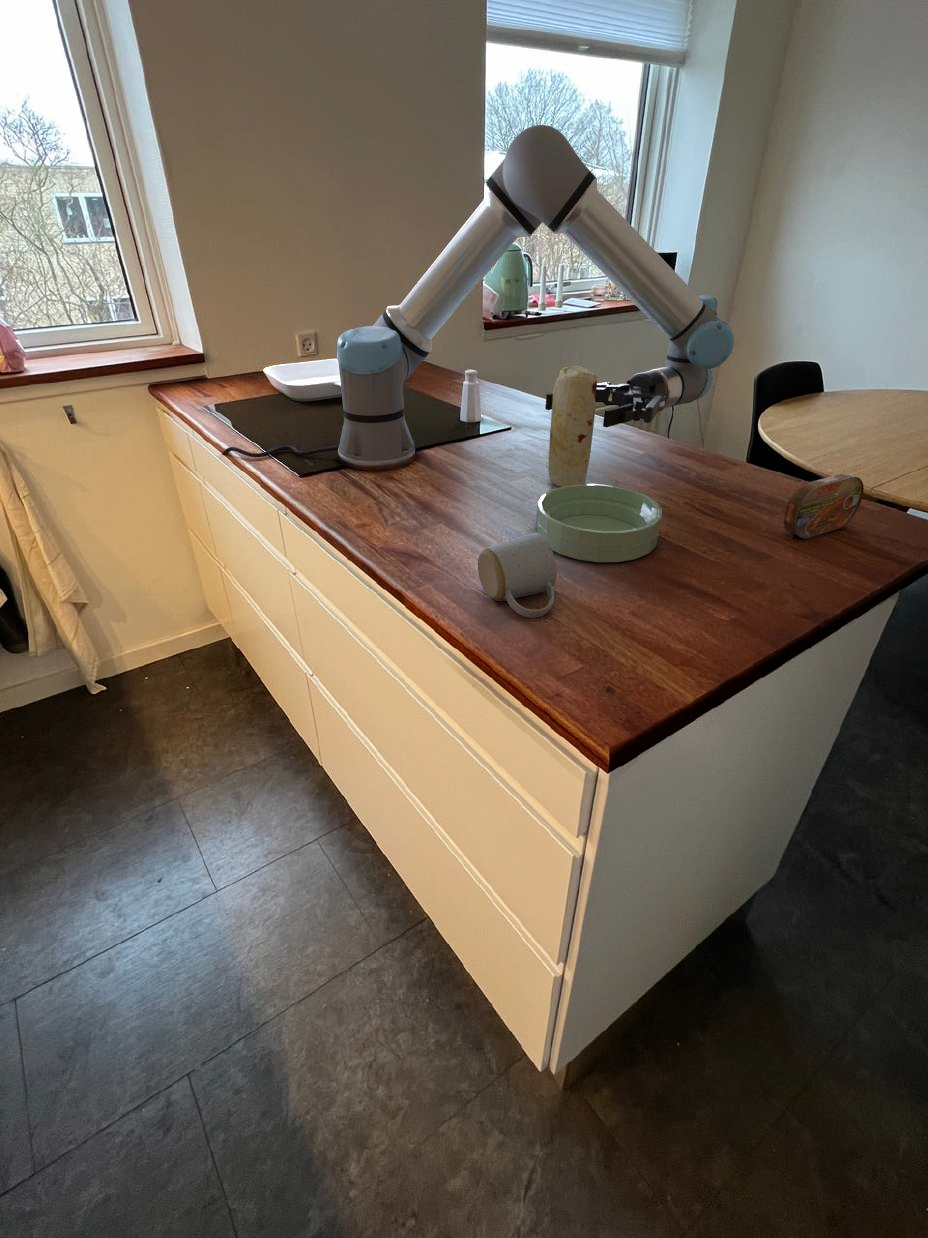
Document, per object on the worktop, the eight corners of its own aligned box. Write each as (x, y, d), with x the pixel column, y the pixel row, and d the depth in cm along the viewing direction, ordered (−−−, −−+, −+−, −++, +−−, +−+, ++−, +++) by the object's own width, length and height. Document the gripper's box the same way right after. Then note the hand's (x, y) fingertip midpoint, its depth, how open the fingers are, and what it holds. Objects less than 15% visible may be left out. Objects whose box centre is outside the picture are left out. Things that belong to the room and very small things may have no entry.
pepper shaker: (455, 421, 149) (455, 371, 143) (464, 415, 153) (464, 367, 147) (477, 423, 147) (477, 374, 141) (485, 417, 152) (486, 369, 145)
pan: (349, 373, 191) (347, 356, 188) (415, 405, 161) (414, 386, 158) (260, 384, 179) (257, 366, 176) (313, 420, 149) (311, 400, 146)
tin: (790, 543, 95) (807, 490, 91) (773, 535, 98) (788, 483, 93) (855, 524, 101) (873, 474, 97) (837, 517, 104) (854, 467, 99)
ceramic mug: (473, 586, 84) (474, 534, 80) (526, 573, 87) (529, 522, 83) (513, 628, 76) (516, 572, 72) (569, 611, 80) (576, 558, 75)
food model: (595, 488, 114) (610, 372, 103) (563, 494, 112) (574, 375, 100) (568, 471, 121) (578, 360, 110) (537, 475, 119) (545, 363, 108)
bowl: (569, 573, 88) (572, 540, 85) (517, 521, 102) (519, 491, 99) (680, 553, 93) (687, 522, 90) (616, 506, 107) (620, 478, 104)
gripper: (704, 426, 115) (629, 449, 104) (599, 398, 131) (524, 416, 120) (713, 383, 111) (636, 402, 99) (603, 359, 127) (526, 374, 116)
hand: (575, 410), depth 110 cm, fingers open, 13 cm apart
